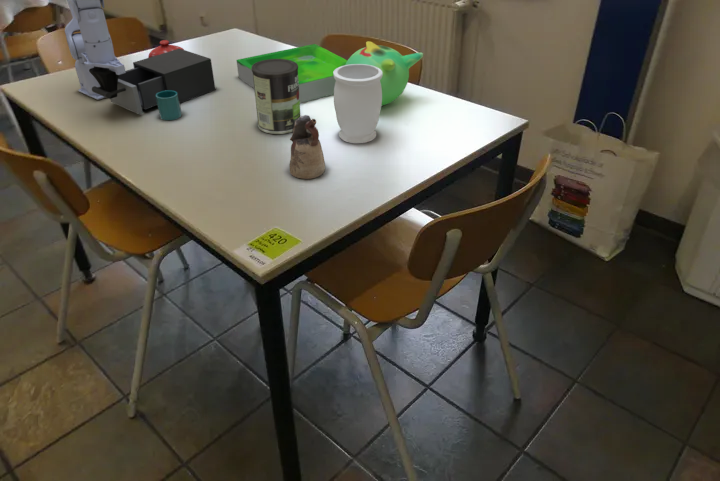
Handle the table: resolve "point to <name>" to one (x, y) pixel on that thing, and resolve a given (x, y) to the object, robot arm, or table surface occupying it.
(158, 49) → the butter dish
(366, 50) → the toy bird
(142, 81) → the drawer
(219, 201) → the table surface
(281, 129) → the coffee can
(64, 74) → the table surface
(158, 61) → the dark grey storage box
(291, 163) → the figurine
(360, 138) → the jar
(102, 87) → the robot arm
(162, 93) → the container
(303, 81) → the tray
